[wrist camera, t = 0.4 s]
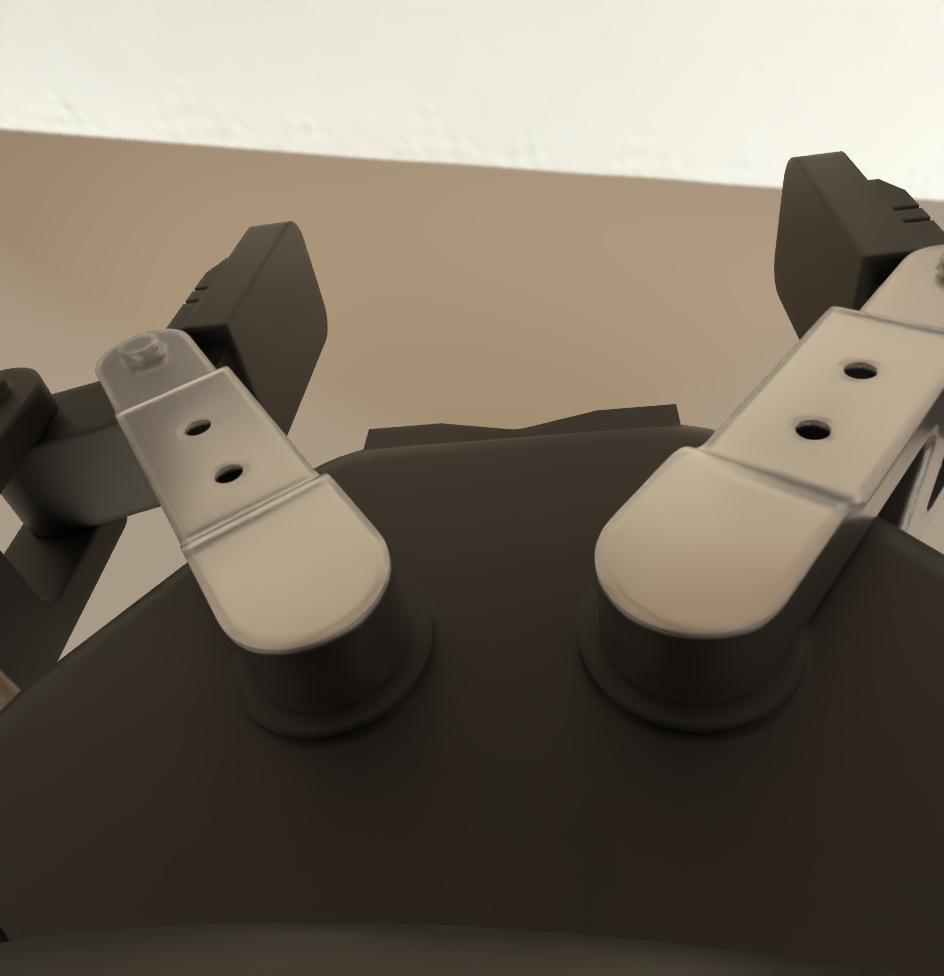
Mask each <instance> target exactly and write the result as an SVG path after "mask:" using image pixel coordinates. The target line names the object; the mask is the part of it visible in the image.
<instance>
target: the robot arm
mask: <svg viewBox="0 0 944 976" xmlns="http://www.w3.org/2000/svg"><path fill="white" fill-rule="evenodd" d="M774 274H775V284H776V289H777V293H778V296H779V298H780V300H781V302H782V304H783V306H784V308H785V310H786V312H787V314H788V317H789V319H790V321H791V323H792V325H793V327H794V329H795V331H796V334H797V336H798V338H799V341H798V342H797V344H796V345H795V346H794V347H793V348H792V349H791V350H790V351H789V352H788V353H787V354H786V356H785V357H784V358H783V359H782V360H781V361H780V362H779V363H778V364H777V365H776V366H775V367H774V369H773V370H772V371H771V372H770V373H769V374H768V375H767V376H766V377H765V378H764V379H763V381H762V382H761V383H760V384H759V385H758V386H757V387H756V388H755V390H753V391H752V393H751V394H750V395H749V396H748V397H747V398H746V399H745V400H744V401H743V402H742V403H741V405H740V406H739V407H738V408H737V409H736V410H735V411H734V412H733V413H732V414H731V415H730V417H729V418H728V419H727V420H726V421H725V422H724V423H723V424H722V425H721V426H720V428H719V429H718V430H717V431H715V430H711V429H707V428H701V427H694V426H688V425H681V424H680V420H679V415H678V411H677V406H676V404H671V405H659V406H646V407H635V408H622V409H611V410H598V411H593V412H589V413H585V414H581V415H577V416H573V417H569V418H565V419H561V420H556V421H552V422H548V423H544V424H540V425H536V426H532V427H528V428H523V429H499V428H488V427H477V426H465V425H453V424H442V423H440V424H429V425H417V426H404V427H392V428H379V429H369V431H368V435H367V439H366V442H365V446H364V449H363V450H361V451H357V452H353V453H350V454H347V455H344V456H341V457H338V458H336V459H334V460H331V461H329V462H327V463H324V464H322V465H320V466H318V467H317V468H315V469H314V468H313V467H312V466H311V465H310V464H309V462H308V461H307V460H306V459H305V458H304V457H303V455H302V454H301V453H300V452H299V451H298V449H297V448H296V447H295V446H294V445H293V444H292V442H291V441H290V440H289V439H288V437H287V434H288V432H289V430H290V427H291V425H292V422H293V420H294V417H295V415H296V413H297V410H298V407H299V405H300V402H301V400H302V398H303V395H304V393H305V390H306V388H307V385H308V383H309V381H310V378H311V375H312V373H313V371H314V368H315V366H316V363H317V361H318V358H319V356H320V353H321V350H322V348H323V346H324V344H325V341H326V338H327V315H326V310H325V306H324V302H323V299H322V296H321V293H320V289H319V286H318V283H317V280H316V277H315V273H314V270H313V267H312V264H311V261H310V258H309V254H308V252H307V248H306V245H305V242H304V239H303V236H302V233H301V231H300V229H299V227H298V226H297V225H296V224H295V223H294V222H291V221H289V222H282V223H274V224H267V225H258V226H252V227H250V228H249V229H248V230H247V231H246V233H245V234H244V236H243V237H242V239H241V240H240V242H239V243H238V244H237V246H236V247H235V249H234V250H233V252H232V253H231V255H230V256H229V258H226V259H225V260H223V261H222V262H221V263H219V264H218V265H216V266H215V267H214V268H212V269H211V270H210V271H208V272H207V273H206V274H205V275H204V276H203V278H202V279H201V281H200V282H199V283H198V285H197V286H196V288H195V291H193V292H192V293H191V295H190V296H189V297H188V299H187V300H186V304H183V306H182V307H181V308H180V310H179V311H178V313H177V314H176V316H175V317H174V318H173V320H172V321H171V323H170V324H169V325H168V327H167V328H166V329H160V330H153V331H149V332H145V333H142V334H139V335H136V336H133V337H131V338H128V339H126V340H124V341H122V342H121V343H119V344H117V345H115V346H114V347H112V348H111V349H109V350H108V351H107V352H106V353H105V354H104V355H103V356H102V357H101V358H100V359H99V360H98V362H97V364H96V367H95V372H96V375H97V377H98V378H99V380H100V381H98V382H95V383H92V384H88V385H84V386H80V387H77V388H73V389H69V390H66V391H62V392H59V393H55V394H51V393H50V391H49V389H48V388H47V386H46V385H45V383H44V382H43V380H42V378H41V377H40V375H39V374H38V373H37V372H36V371H35V370H33V369H30V368H11V369H6V370H1V371H0V494H1V495H2V496H3V497H4V499H5V500H6V501H7V502H8V504H9V505H10V506H11V508H12V509H13V510H14V511H15V513H16V514H17V515H18V517H19V518H20V519H21V521H22V522H23V523H24V524H23V525H22V527H21V529H20V530H19V532H18V533H17V535H16V536H15V538H14V540H13V541H12V542H11V544H10V546H9V547H8V549H7V550H6V552H5V553H4V555H3V553H2V552H1V551H0V976H944V555H943V554H941V553H940V552H938V551H937V550H935V549H933V548H932V547H930V546H928V545H926V544H925V543H923V542H921V541H920V540H919V539H920V538H921V536H922V534H923V532H924V531H925V529H926V527H927V526H928V524H929V522H930V521H931V519H932V517H933V516H934V514H935V512H936V510H937V509H938V507H939V505H940V504H941V502H942V500H943V499H944V231H943V230H942V229H941V228H940V227H939V226H938V225H937V224H936V223H935V222H934V221H930V217H929V215H928V214H927V213H926V212H925V211H924V210H923V209H922V208H919V205H918V203H917V202H916V201H915V200H914V199H913V198H912V197H911V196H910V195H909V194H908V193H907V192H906V190H903V189H901V188H899V187H896V186H894V185H892V184H889V183H887V182H884V181H882V180H880V179H875V180H867V178H866V177H865V176H864V175H863V174H862V173H861V171H860V170H859V169H858V168H857V167H856V166H855V164H854V163H853V162H852V161H851V160H850V159H849V157H848V156H847V155H846V154H845V153H844V152H842V151H840V152H832V153H824V154H816V155H808V156H801V157H793V158H791V159H790V160H789V161H788V163H787V166H786V170H785V174H784V181H783V190H782V198H781V207H780V215H779V225H778V234H777V241H776V250H775V261H774ZM160 506H161V507H162V509H163V511H164V513H165V514H166V517H167V518H168V521H169V522H170V524H171V526H172V528H173V530H174V532H175V534H176V536H177V538H178V540H179V542H180V544H181V546H180V547H181V549H182V552H183V554H184V556H185V558H186V560H187V563H186V564H185V565H183V566H182V567H181V568H180V569H178V570H177V571H176V572H174V573H173V574H172V575H171V576H169V577H168V578H166V579H165V580H164V581H163V582H161V583H160V584H159V585H157V586H156V587H155V588H153V589H152V590H151V591H150V592H148V593H147V594H145V595H144V596H143V597H142V598H140V599H139V600H138V601H136V602H135V603H134V604H132V605H131V606H130V607H128V608H127V609H126V610H125V611H123V612H122V613H121V614H119V615H118V616H117V617H116V618H114V619H113V620H111V621H110V622H109V623H108V624H106V625H105V626H104V627H102V628H101V629H100V630H98V631H97V632H96V633H95V634H93V635H92V636H91V637H89V638H88V639H87V640H86V641H84V642H83V643H81V644H80V645H79V646H77V647H76V648H75V649H74V650H72V651H71V652H70V653H68V654H67V655H66V656H65V657H63V658H62V659H61V660H59V661H58V659H59V657H60V655H61V653H62V651H63V649H64V647H65V645H66V643H67V641H68V639H69V637H70V635H71V633H72V631H73V629H74V627H75V625H76V623H77V621H78V619H79V617H80V615H81V613H82V611H83V610H84V607H85V605H86V603H87V601H88V600H89V598H90V596H91V593H92V591H93V589H94V587H95V586H96V584H97V582H98V580H99V578H100V576H101V574H102V571H103V570H104V568H105V565H106V563H107V562H108V560H109V558H110V556H111V554H112V551H113V550H114V547H115V546H116V544H117V542H118V539H119V538H120V536H121V534H122V532H123V530H124V528H125V525H126V522H127V516H130V515H133V514H136V513H139V512H143V511H146V510H150V509H153V508H156V507H160ZM57 661H58V662H57Z"/></svg>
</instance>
